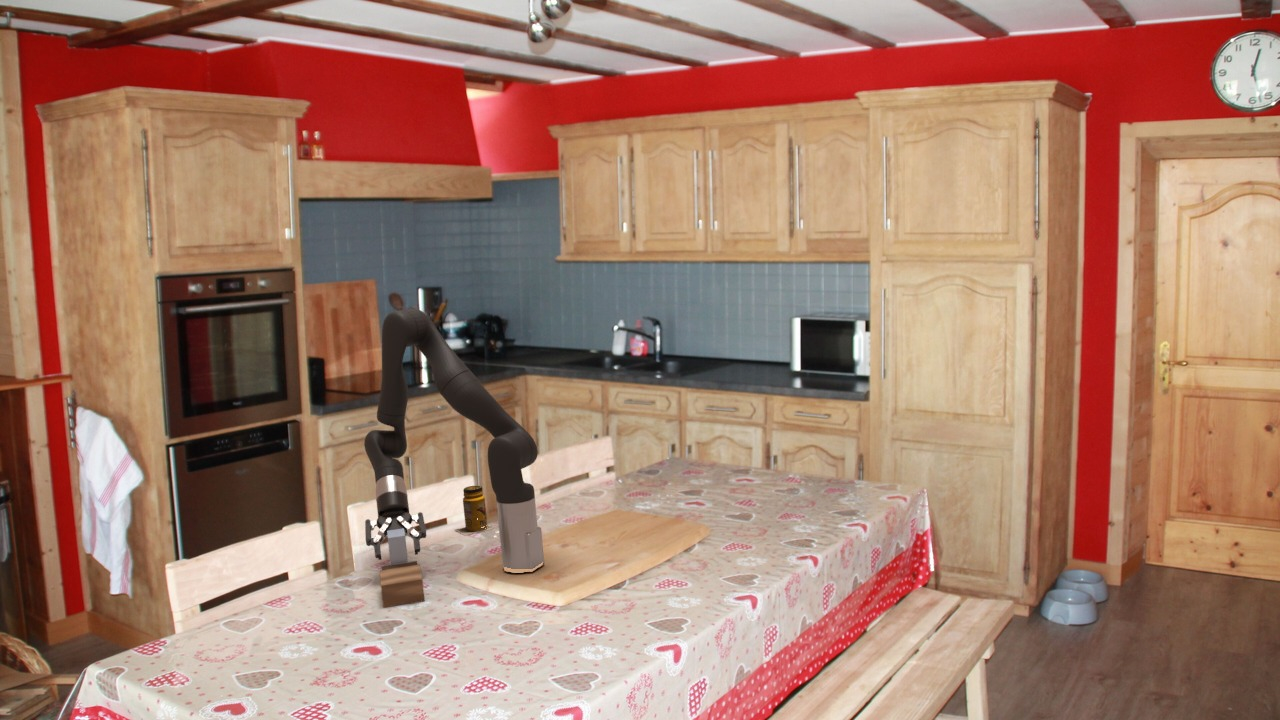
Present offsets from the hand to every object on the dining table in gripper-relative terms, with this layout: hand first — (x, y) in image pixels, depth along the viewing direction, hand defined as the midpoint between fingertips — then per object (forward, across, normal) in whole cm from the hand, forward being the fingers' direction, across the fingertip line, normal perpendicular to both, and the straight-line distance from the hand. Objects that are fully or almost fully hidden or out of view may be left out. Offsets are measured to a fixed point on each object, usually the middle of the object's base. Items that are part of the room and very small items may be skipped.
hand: (398, 555), depth 248 cm
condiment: (-22, +21, +32) cm, 44 cm away
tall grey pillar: (+4, 0, +5) cm, 7 cm away
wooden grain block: (+9, 0, 0) cm, 9 cm away
